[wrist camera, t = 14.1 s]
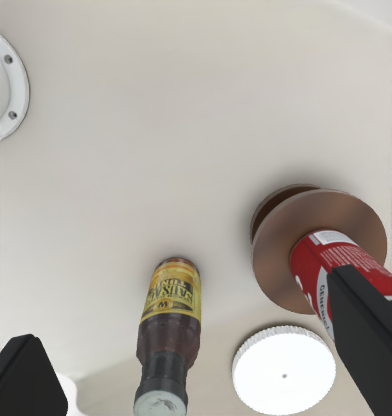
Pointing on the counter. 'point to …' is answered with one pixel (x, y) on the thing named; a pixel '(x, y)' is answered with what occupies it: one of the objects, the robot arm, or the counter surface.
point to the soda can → (323, 263)
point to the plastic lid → (283, 370)
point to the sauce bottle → (168, 339)
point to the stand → (301, 226)
